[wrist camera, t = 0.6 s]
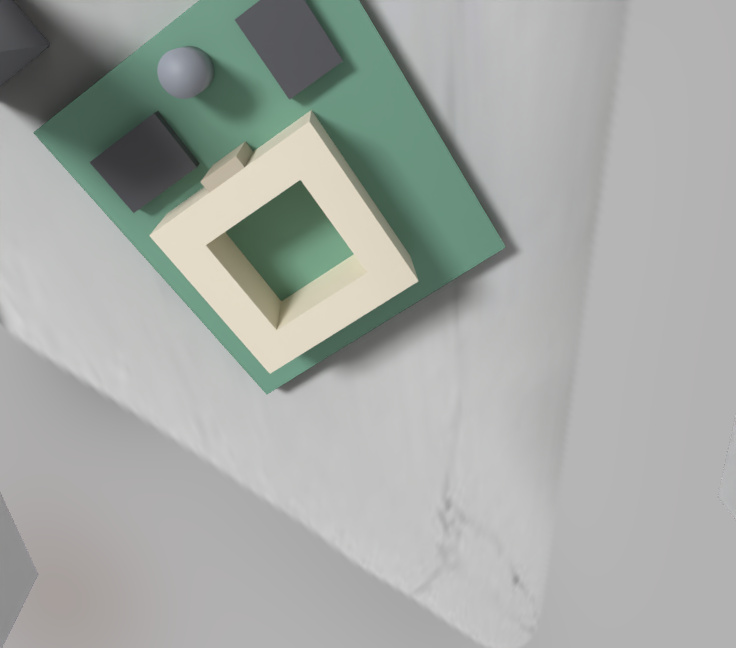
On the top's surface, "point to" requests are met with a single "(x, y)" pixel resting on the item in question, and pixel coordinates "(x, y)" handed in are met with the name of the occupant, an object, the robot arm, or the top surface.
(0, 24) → the plug
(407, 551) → the top surface
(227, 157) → the board
